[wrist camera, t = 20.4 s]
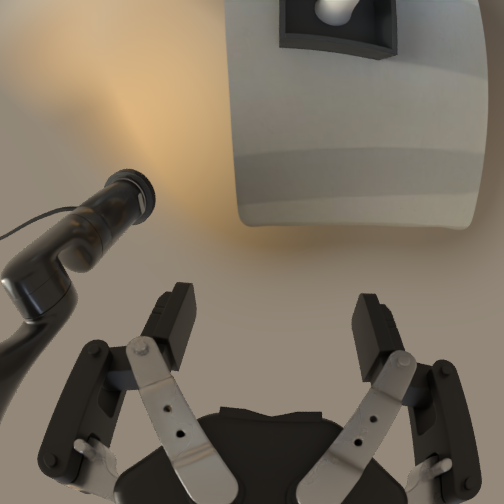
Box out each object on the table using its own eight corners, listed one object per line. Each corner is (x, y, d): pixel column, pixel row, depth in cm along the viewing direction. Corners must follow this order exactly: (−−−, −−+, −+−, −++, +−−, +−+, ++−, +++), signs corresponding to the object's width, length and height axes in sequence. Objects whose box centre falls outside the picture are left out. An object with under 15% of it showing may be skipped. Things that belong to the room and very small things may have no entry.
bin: (279, 47, 36) (279, 37, 29) (279, -31, 27) (278, -52, 20) (378, 60, 35) (397, 55, 27) (375, -18, 26) (391, -34, 19)
